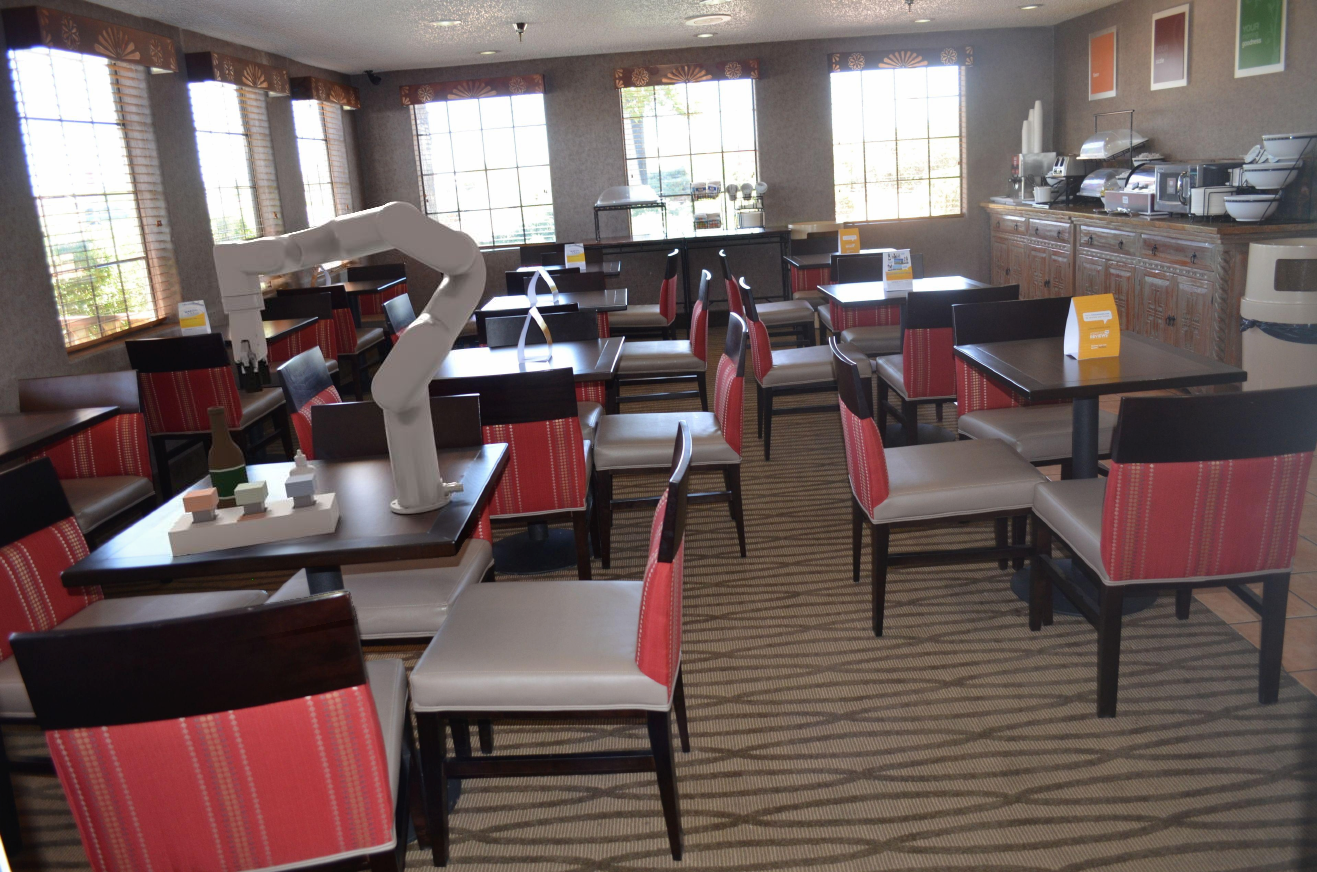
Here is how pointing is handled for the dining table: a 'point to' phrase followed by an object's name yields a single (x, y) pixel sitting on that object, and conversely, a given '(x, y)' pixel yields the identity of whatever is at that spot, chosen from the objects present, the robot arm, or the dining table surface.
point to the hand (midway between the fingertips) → (259, 388)
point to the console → (254, 526)
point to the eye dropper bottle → (304, 469)
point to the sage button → (252, 497)
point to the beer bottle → (224, 460)
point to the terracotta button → (201, 504)
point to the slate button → (301, 490)
